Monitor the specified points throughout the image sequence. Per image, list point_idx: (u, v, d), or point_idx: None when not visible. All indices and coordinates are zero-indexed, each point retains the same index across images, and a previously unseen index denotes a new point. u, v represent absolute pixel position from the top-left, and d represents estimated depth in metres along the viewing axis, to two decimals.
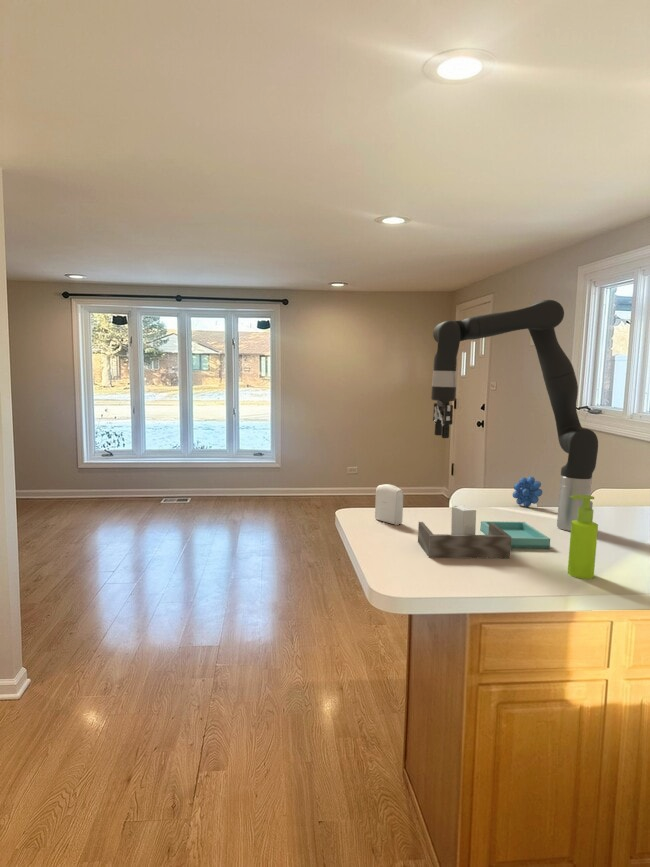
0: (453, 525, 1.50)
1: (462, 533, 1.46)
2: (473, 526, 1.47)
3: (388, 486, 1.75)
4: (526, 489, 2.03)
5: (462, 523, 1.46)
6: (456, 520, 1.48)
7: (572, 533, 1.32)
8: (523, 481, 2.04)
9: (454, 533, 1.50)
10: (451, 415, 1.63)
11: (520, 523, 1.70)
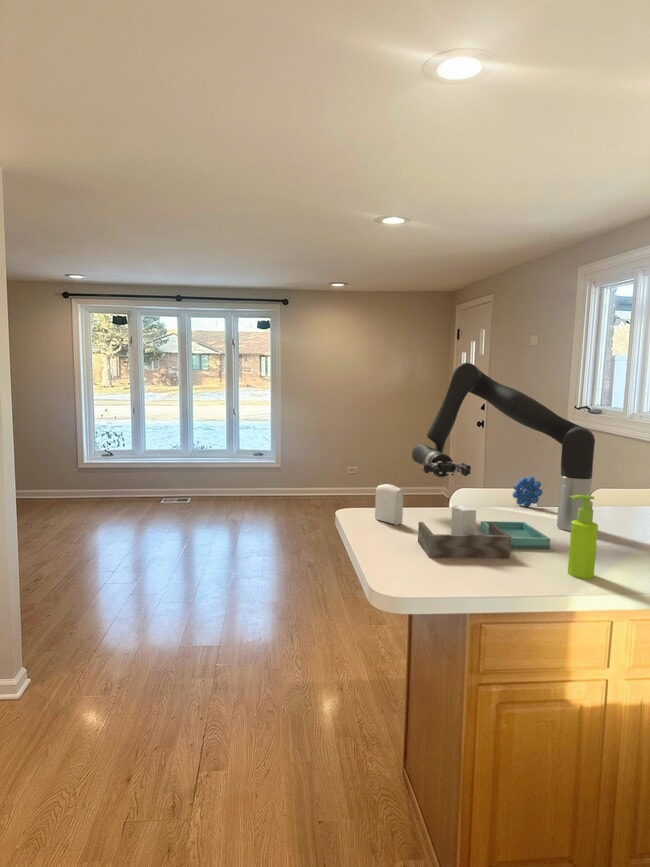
0: (453, 525, 1.50)
1: (462, 533, 1.46)
2: (473, 526, 1.47)
3: (388, 486, 1.75)
4: (526, 489, 2.03)
5: (462, 523, 1.46)
6: (456, 520, 1.48)
7: (572, 533, 1.32)
8: (523, 481, 2.04)
9: (454, 533, 1.50)
10: (424, 464, 1.67)
11: (520, 523, 1.70)
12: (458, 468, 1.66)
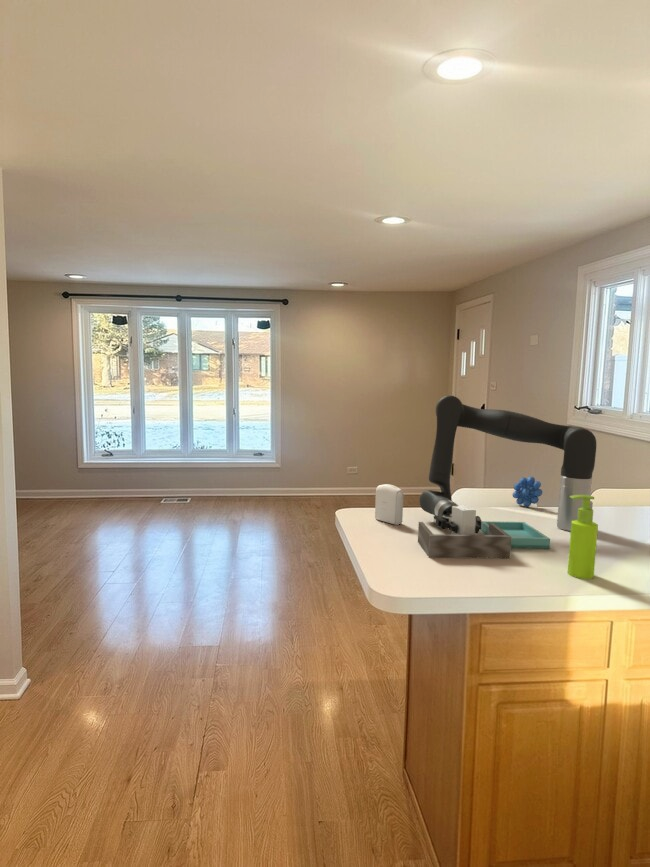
0: None
1: (461, 533, 1.46)
2: (473, 526, 1.46)
3: (388, 486, 1.75)
4: (526, 489, 2.03)
5: (461, 523, 1.46)
6: (456, 520, 1.48)
7: (572, 533, 1.32)
8: (523, 481, 2.04)
9: (454, 533, 1.50)
10: (438, 519, 1.53)
11: (520, 523, 1.70)
12: None
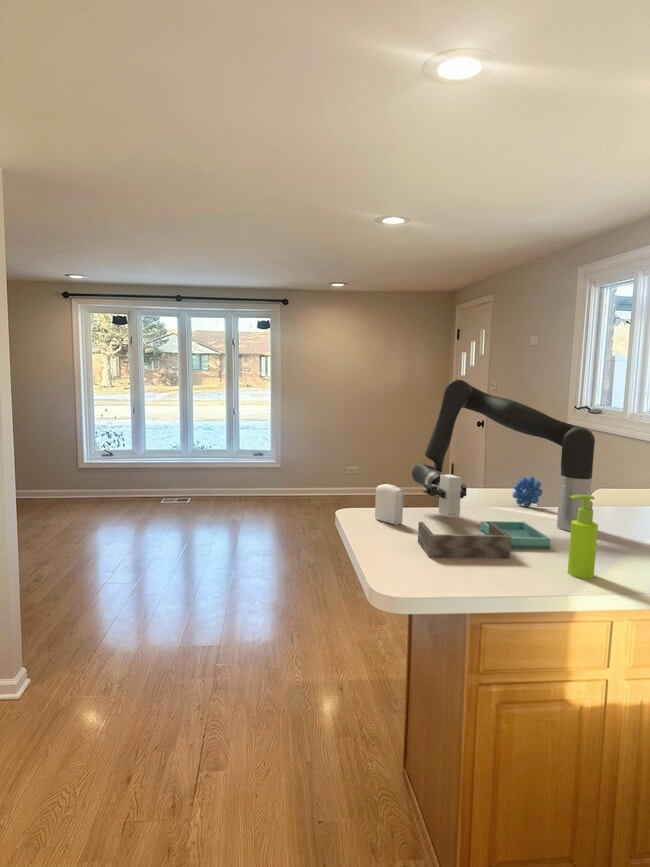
0: None
1: (447, 498, 1.60)
2: (458, 492, 1.61)
3: (388, 486, 1.75)
4: (526, 489, 2.03)
5: (448, 489, 1.60)
6: (443, 487, 1.63)
7: (572, 533, 1.32)
8: (523, 481, 2.04)
9: (441, 499, 1.64)
10: (427, 487, 1.67)
11: (520, 523, 1.70)
12: None
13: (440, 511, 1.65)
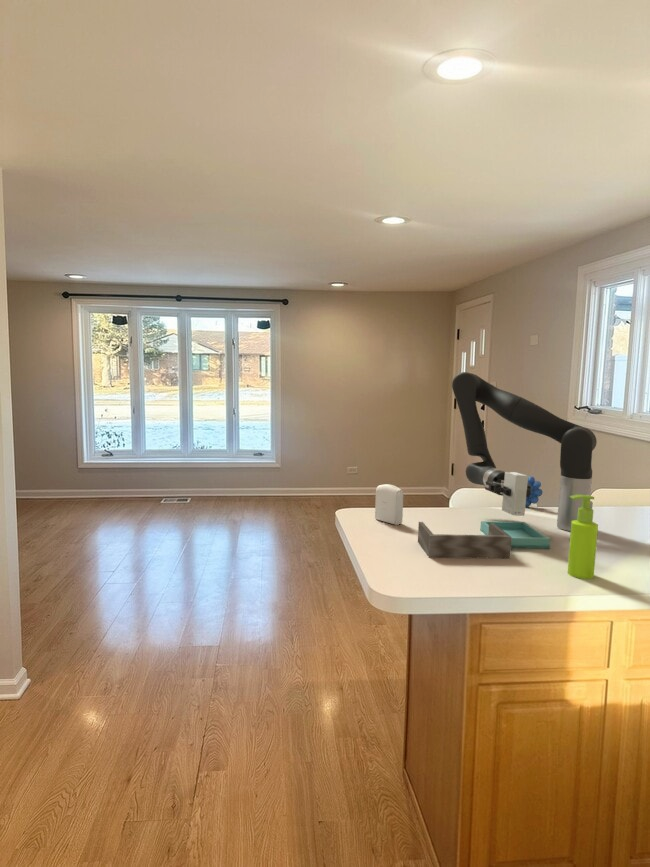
0: None
1: (513, 497, 1.57)
2: (524, 490, 1.58)
3: (388, 486, 1.75)
4: None
5: (514, 487, 1.57)
6: (509, 485, 1.60)
7: (572, 533, 1.32)
8: None
9: (506, 497, 1.61)
10: (490, 484, 1.64)
11: (520, 523, 1.70)
12: None
13: (504, 509, 1.62)
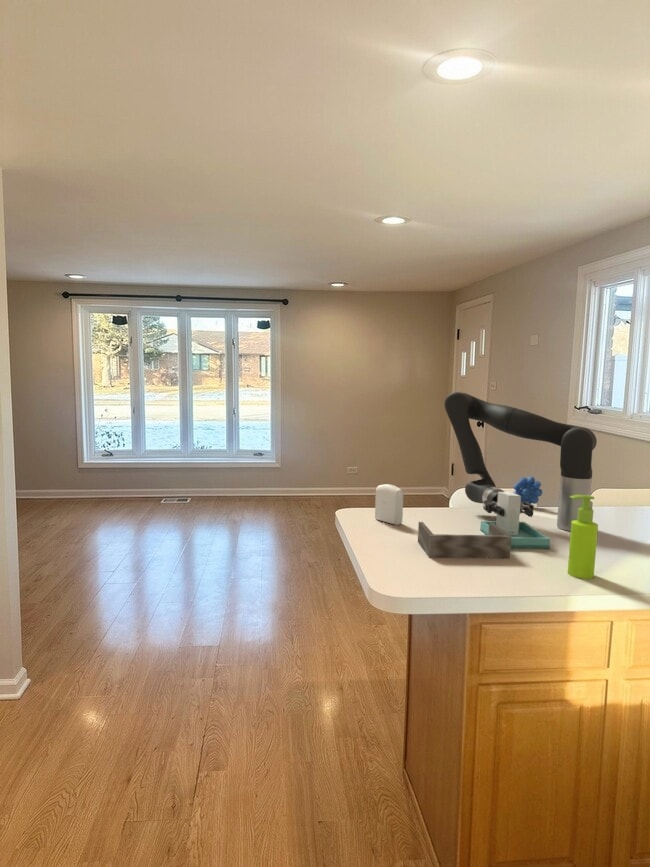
0: None
1: (506, 517, 1.59)
2: (517, 510, 1.59)
3: (388, 486, 1.75)
4: (526, 489, 2.03)
5: (507, 507, 1.58)
6: (502, 504, 1.61)
7: (572, 533, 1.32)
8: (523, 481, 2.04)
9: (499, 517, 1.62)
10: (486, 504, 1.66)
11: (520, 523, 1.70)
12: (521, 507, 1.65)
13: None
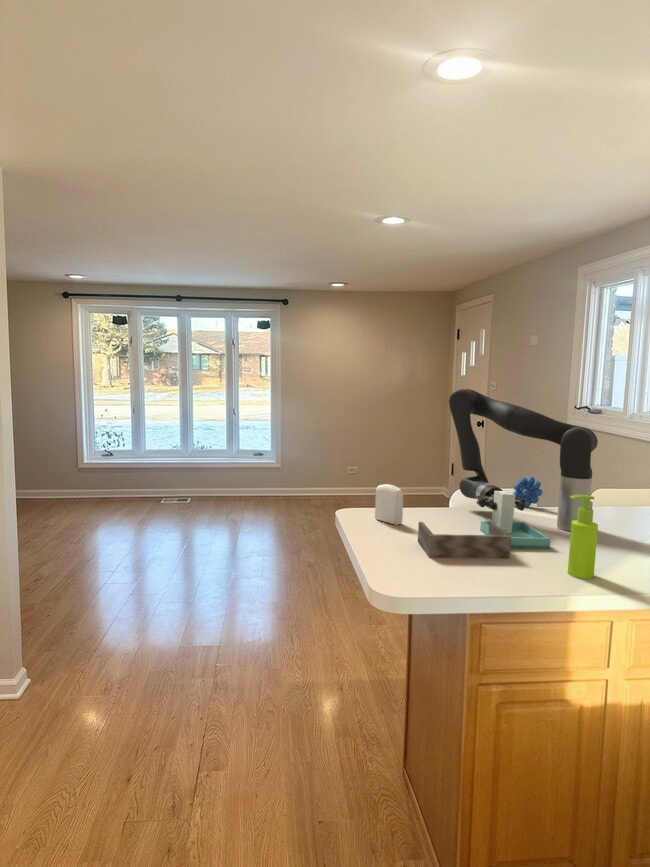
0: None
1: (500, 515, 1.63)
2: (511, 509, 1.63)
3: (388, 486, 1.75)
4: (526, 489, 2.03)
5: (501, 505, 1.63)
6: (497, 503, 1.65)
7: (572, 533, 1.32)
8: (523, 481, 2.04)
9: (494, 515, 1.66)
10: (479, 498, 1.72)
11: (520, 523, 1.70)
12: None
13: None
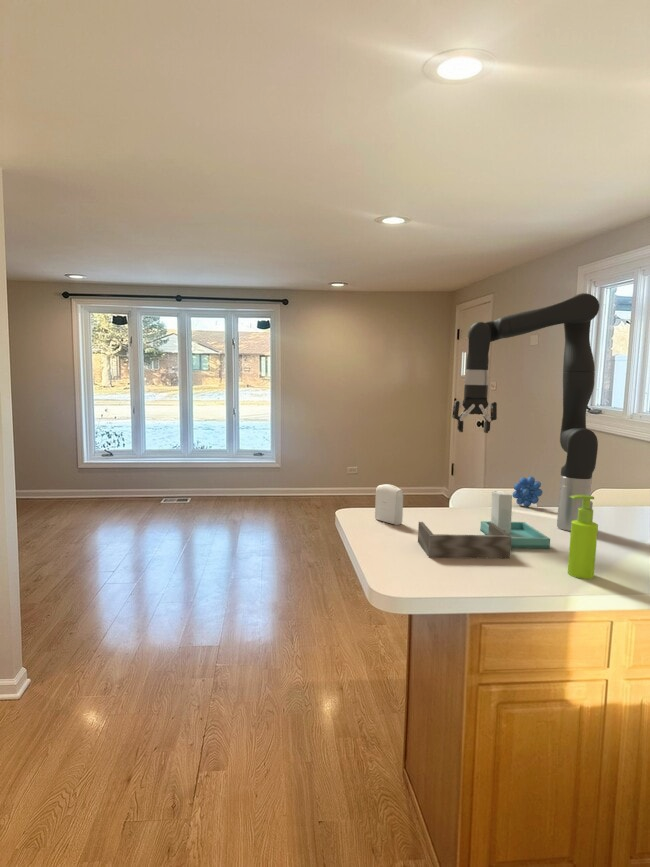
0: (492, 508, 1.67)
1: (498, 515, 1.63)
2: (509, 509, 1.63)
3: (388, 486, 1.75)
4: (526, 489, 2.03)
5: (498, 506, 1.63)
6: (494, 504, 1.65)
7: (572, 533, 1.32)
8: (523, 481, 2.04)
9: (493, 516, 1.67)
10: (454, 410, 1.77)
11: (520, 523, 1.70)
12: None
13: None
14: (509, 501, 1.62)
